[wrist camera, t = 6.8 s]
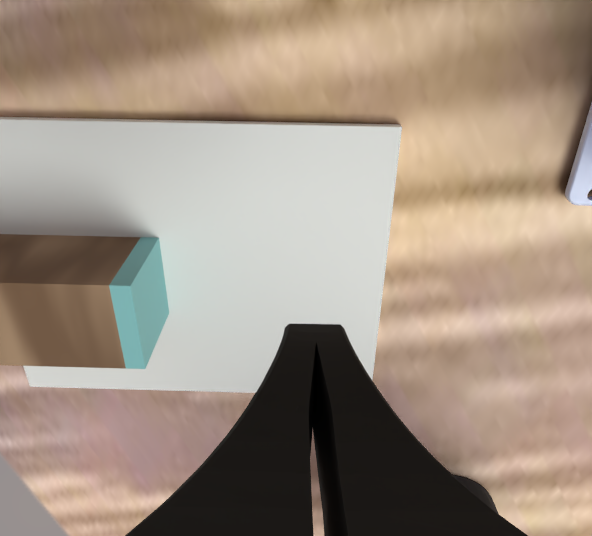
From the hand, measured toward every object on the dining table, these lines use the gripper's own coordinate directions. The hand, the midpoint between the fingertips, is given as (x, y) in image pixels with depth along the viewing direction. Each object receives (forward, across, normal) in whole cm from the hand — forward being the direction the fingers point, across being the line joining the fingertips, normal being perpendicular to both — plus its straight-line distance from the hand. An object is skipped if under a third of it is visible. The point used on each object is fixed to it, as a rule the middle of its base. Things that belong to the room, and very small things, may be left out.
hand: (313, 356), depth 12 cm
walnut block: (+8, +6, +4) cm, 11 cm away
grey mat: (+10, +6, +4) cm, 12 cm away
